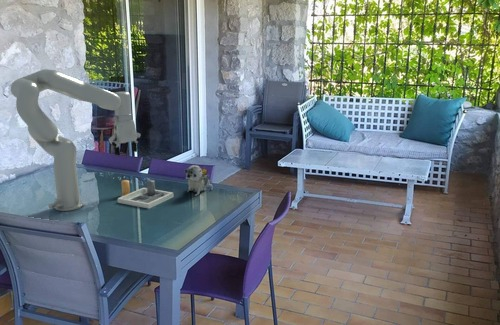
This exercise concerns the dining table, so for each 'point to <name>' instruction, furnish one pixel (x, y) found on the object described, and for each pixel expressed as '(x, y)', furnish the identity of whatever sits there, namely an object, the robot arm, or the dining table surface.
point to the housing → (145, 198)
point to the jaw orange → (125, 187)
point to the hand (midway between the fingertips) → (126, 153)
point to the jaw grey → (151, 188)
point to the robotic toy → (197, 179)
